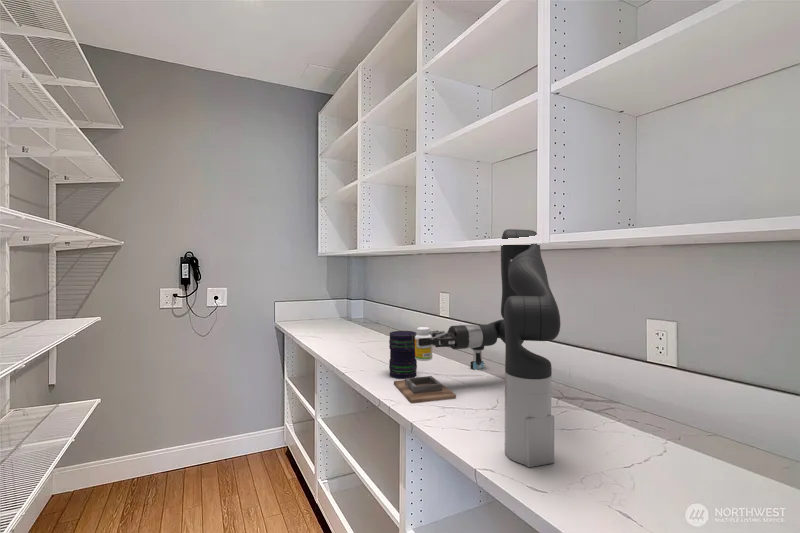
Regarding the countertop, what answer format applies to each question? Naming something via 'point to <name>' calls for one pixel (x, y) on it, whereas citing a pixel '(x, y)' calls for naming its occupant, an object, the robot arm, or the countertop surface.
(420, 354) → the supplement bottle
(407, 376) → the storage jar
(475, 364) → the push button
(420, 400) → the dock board
